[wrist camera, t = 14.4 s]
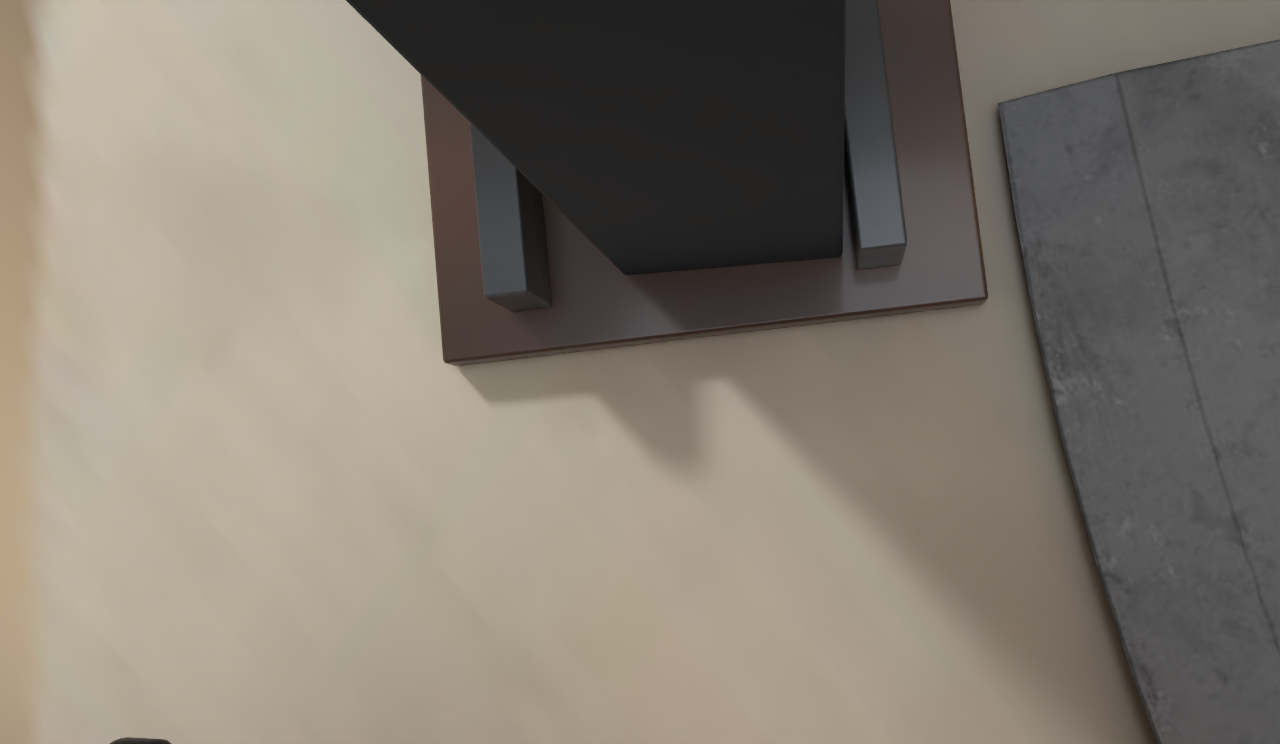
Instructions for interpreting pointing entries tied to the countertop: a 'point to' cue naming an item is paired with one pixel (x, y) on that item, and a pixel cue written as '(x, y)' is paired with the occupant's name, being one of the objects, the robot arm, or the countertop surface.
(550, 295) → the pad mount
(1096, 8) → the countertop surface
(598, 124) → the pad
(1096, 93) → the cleaver
